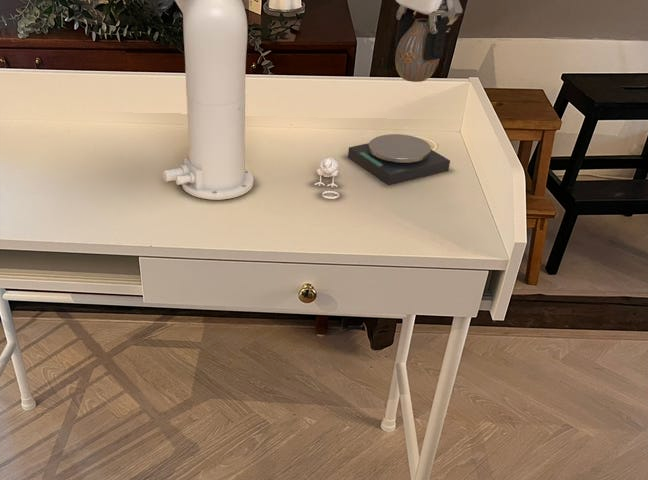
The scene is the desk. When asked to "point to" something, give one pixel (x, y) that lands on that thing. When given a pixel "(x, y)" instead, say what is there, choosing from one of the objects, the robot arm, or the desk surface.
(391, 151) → the scale pan
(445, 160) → the scale
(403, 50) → the vase
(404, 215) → the desk surface
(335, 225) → the desk surface
